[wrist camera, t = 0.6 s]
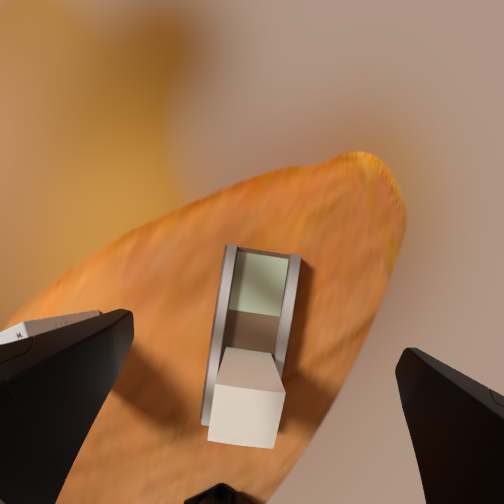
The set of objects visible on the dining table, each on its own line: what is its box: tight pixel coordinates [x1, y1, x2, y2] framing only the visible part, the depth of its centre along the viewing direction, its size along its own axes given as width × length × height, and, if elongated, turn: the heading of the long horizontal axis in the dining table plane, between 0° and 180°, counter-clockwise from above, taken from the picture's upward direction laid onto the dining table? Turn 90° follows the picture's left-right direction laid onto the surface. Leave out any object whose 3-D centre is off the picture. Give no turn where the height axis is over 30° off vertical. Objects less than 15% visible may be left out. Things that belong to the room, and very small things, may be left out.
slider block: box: [207, 347, 286, 449], centre depth 20 cm, size 4×4×10 cm
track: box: [200, 244, 302, 426], centre depth 25 cm, size 17×7×2 cm, turn 171°
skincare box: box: [0, 310, 100, 345], centre depth 20 cm, size 6×4×12 cm
